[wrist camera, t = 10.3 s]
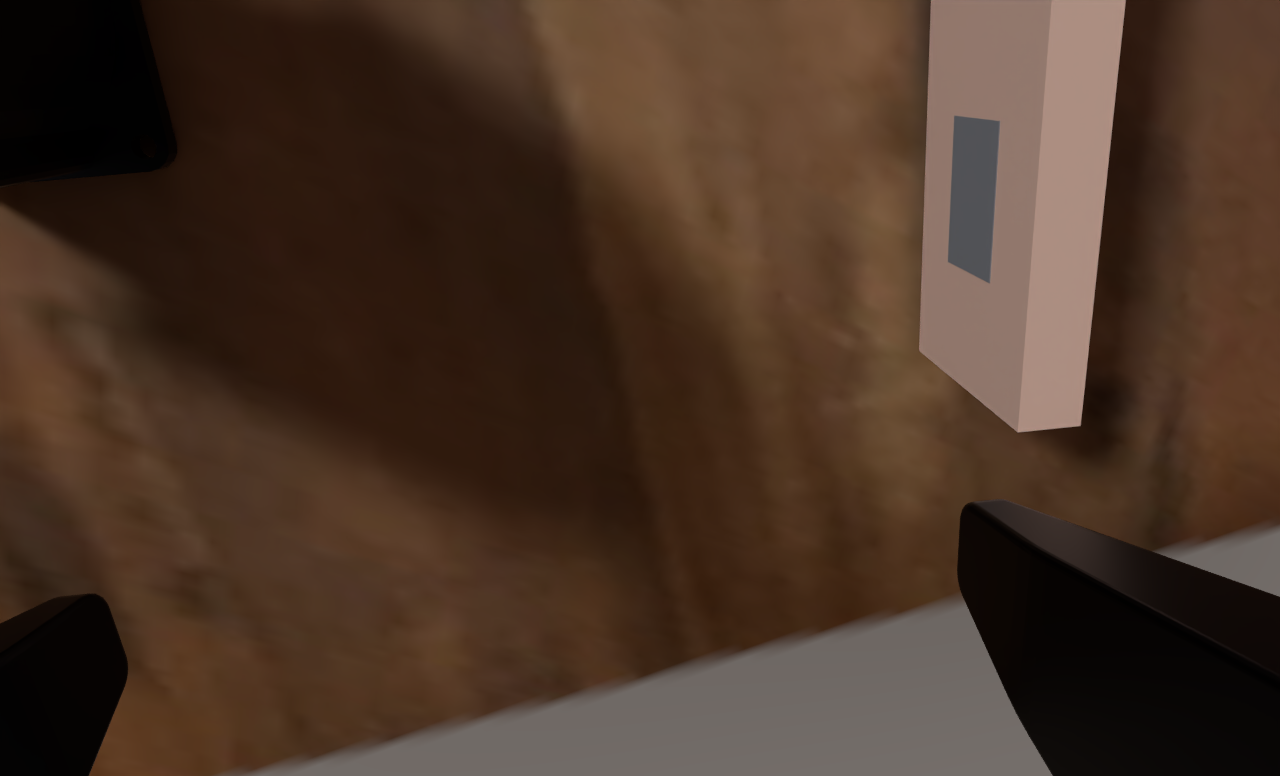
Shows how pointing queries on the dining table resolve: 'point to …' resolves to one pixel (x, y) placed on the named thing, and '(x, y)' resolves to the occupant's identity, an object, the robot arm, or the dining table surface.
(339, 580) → the dining table surface
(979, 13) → the pink plank
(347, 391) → the dining table surface
